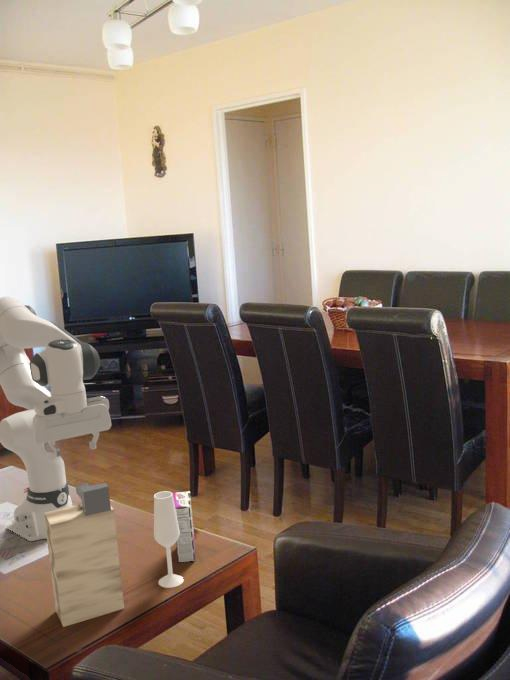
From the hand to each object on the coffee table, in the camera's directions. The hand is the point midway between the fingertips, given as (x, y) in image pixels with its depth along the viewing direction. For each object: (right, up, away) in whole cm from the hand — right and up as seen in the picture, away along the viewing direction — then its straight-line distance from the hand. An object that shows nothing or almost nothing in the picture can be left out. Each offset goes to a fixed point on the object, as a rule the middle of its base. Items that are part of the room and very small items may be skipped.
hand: (75, 452), depth 196 cm
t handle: (+7, -10, -13) cm, 18 cm away
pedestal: (+7, -37, -13) cm, 40 cm away
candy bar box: (+28, -31, +13) cm, 44 cm away
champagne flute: (+25, -34, -2) cm, 42 cm away
